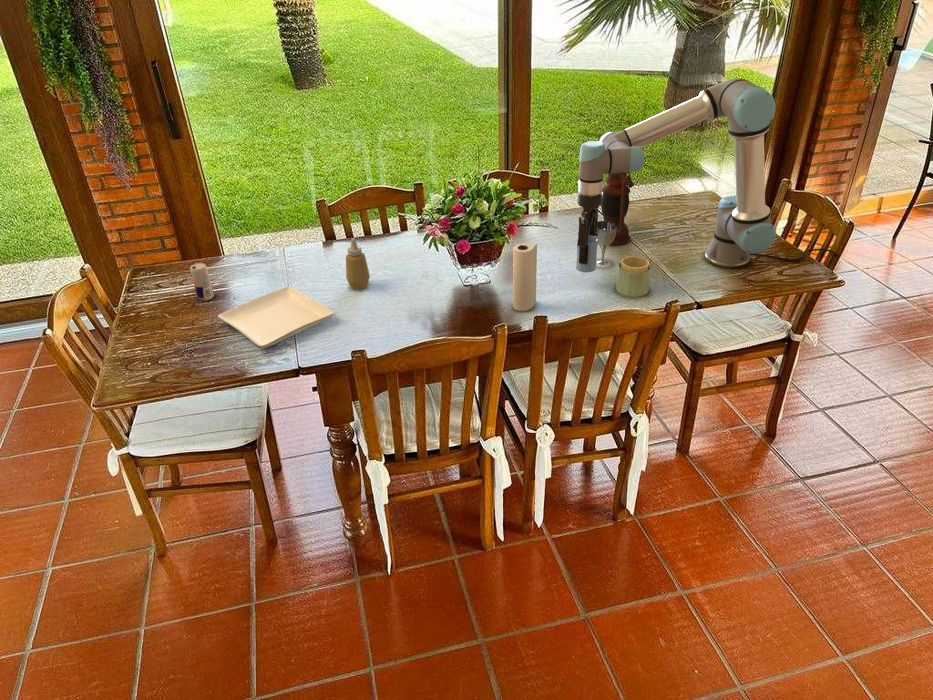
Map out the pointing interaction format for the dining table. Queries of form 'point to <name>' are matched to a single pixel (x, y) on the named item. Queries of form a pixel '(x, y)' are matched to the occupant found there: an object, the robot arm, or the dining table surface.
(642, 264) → the middle cup
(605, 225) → the wine glass
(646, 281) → the stack base cup
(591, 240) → the top cup
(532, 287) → the paper towel roll
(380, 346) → the dining table surface
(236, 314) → the square plate
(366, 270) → the squeeze bottle
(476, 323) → the dining table surface
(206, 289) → the energy drink
